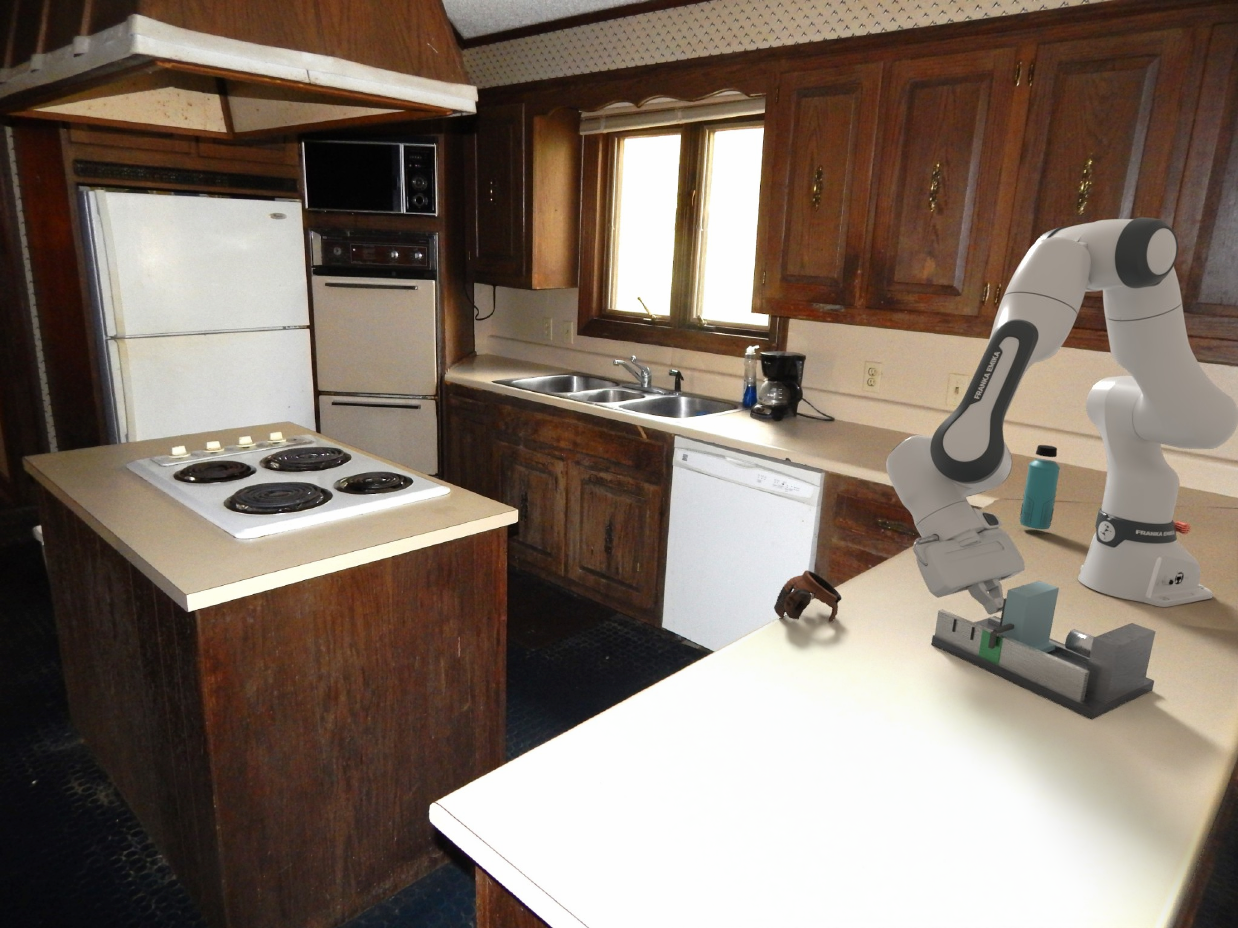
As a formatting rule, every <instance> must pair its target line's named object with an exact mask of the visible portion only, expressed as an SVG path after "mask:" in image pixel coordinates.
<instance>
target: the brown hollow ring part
mask: <svg viewBox="0 0 1238 928" xmlns="http://www.w3.org/2000/svg"><path fill="white" fill-rule="evenodd" d="M812 594H813V598H814V599H816V600H819V602H821V603H823V604H825V605H827V606H828V607H829V608H831V613H830V615H829V617H828V622H829V623H830V624H831V623H833V622H834V620H835V619H836V616H837V615H838V612H839V605H838V603H840V601H842V599H843V598H842V595H841V594H840V593H839V591H837V589H836V588H835V587H834V586H833V585H832V584H831V583H829V581H827V580H826V579H824V578H823V577H821V576H820V575H819V574H817V573H815V572H813V571H811V570H809V569H807V570H804V572H803V573H802V575H797V576H794V577H792V578H790V579H789V580H787V581H786V583H784V585H783V586H782V588H781V589H780V592H779V593H778V595H777V599H776V602H775V604H774V606H773V609H774V612H775V613H776V614H777V616H778V617H779V618H780V619H784V617H785V614H786V615H787V617H788V618H789V619H791V620H796V621H797V620H800V617H801V616H802V614H803V612H804V610H806V608H807V606H809V604H810V603H811V602H812V601H811V600H812Z"/></svg>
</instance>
